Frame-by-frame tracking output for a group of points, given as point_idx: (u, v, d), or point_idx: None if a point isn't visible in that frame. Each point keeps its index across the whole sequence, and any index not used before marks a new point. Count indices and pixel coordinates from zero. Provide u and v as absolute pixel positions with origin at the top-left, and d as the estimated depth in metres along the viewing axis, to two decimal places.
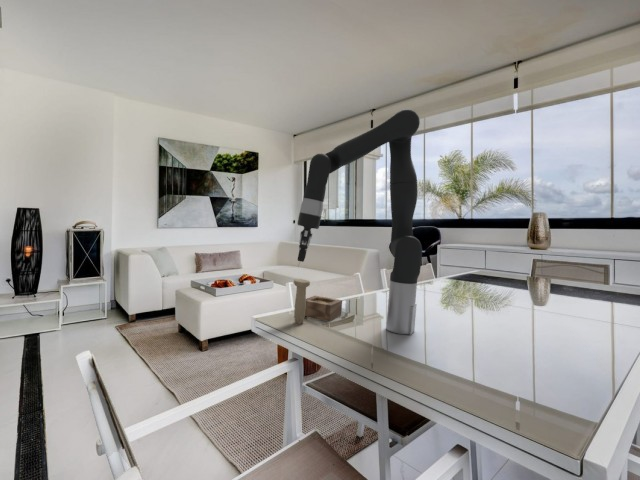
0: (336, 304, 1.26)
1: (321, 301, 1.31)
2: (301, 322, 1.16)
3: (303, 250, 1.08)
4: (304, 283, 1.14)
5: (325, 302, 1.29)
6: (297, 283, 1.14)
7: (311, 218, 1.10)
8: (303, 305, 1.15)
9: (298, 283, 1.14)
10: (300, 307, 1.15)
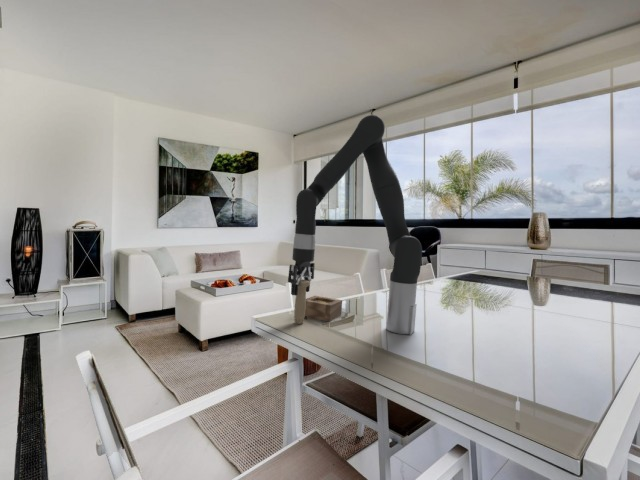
0: (336, 304, 1.26)
1: (321, 301, 1.31)
2: (301, 322, 1.16)
3: (294, 284, 1.11)
4: (304, 283, 1.14)
5: (325, 302, 1.29)
6: None
7: (300, 252, 1.12)
8: (303, 305, 1.15)
9: (298, 283, 1.14)
10: (300, 307, 1.15)
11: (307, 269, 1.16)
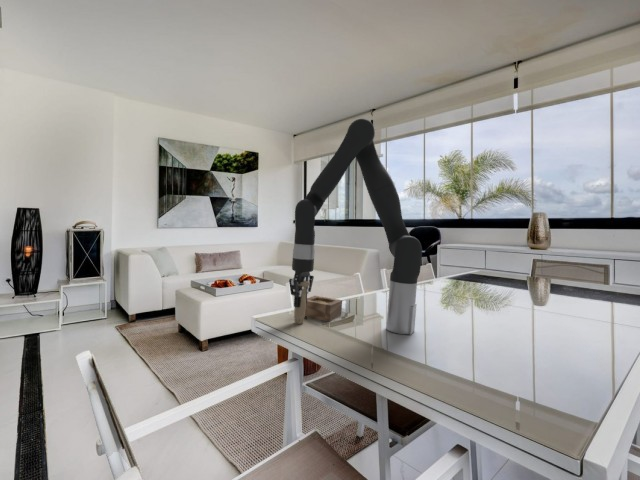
0: (336, 304, 1.26)
1: (321, 301, 1.31)
2: (301, 322, 1.16)
3: (297, 297, 1.14)
4: (304, 283, 1.13)
5: (325, 302, 1.29)
6: None
7: (299, 262, 1.13)
8: (303, 305, 1.15)
9: None
10: (300, 307, 1.15)
11: (307, 279, 1.17)
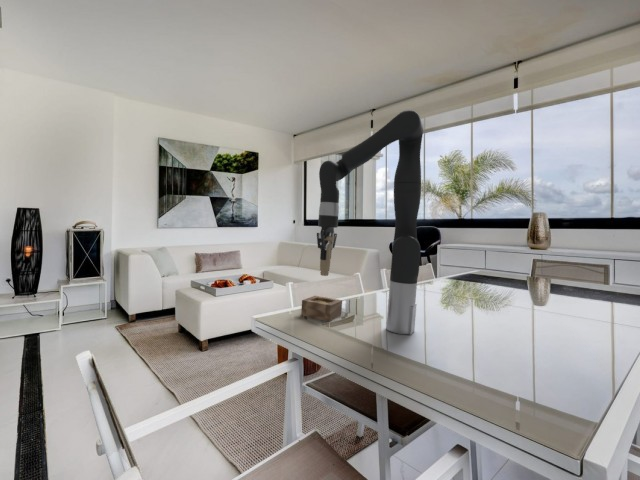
0: (336, 304, 1.26)
1: (321, 301, 1.31)
2: (326, 274, 1.27)
3: (323, 250, 1.25)
4: (329, 237, 1.24)
5: (325, 302, 1.29)
6: None
7: (326, 218, 1.23)
8: (328, 258, 1.26)
9: None
10: (325, 260, 1.26)
11: (331, 235, 1.27)
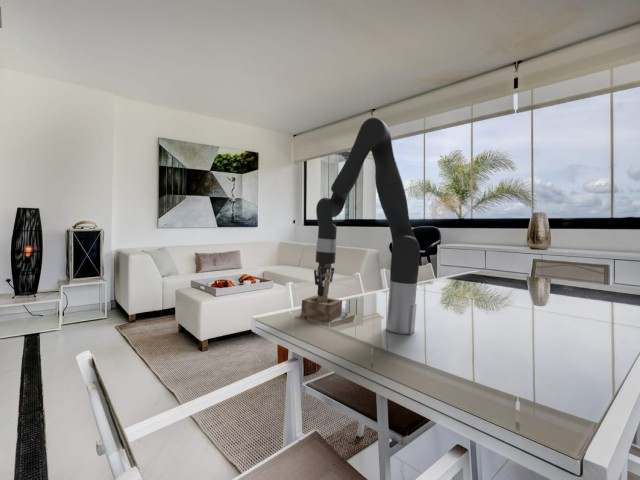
0: (336, 304, 1.26)
1: None
2: None
3: (320, 287, 1.25)
4: (327, 274, 1.25)
5: None
6: None
7: (323, 255, 1.24)
8: (325, 294, 1.27)
9: None
10: (323, 295, 1.26)
11: (329, 270, 1.28)
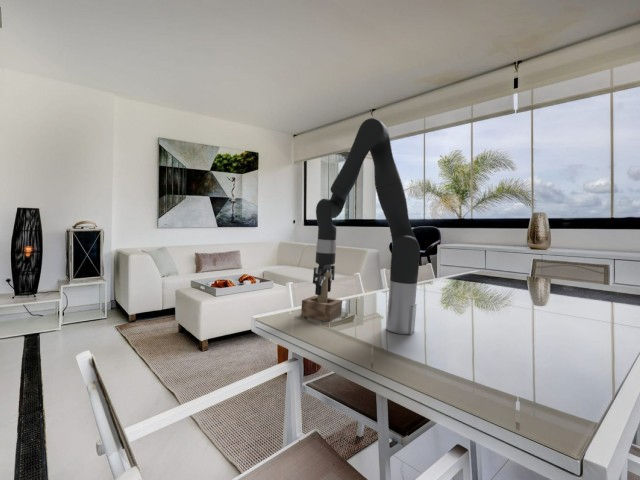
0: (336, 304, 1.26)
1: None
2: None
3: (318, 285, 1.23)
4: (327, 274, 1.25)
5: None
6: None
7: (323, 256, 1.24)
8: (325, 294, 1.27)
9: None
10: (323, 295, 1.26)
11: (329, 271, 1.28)
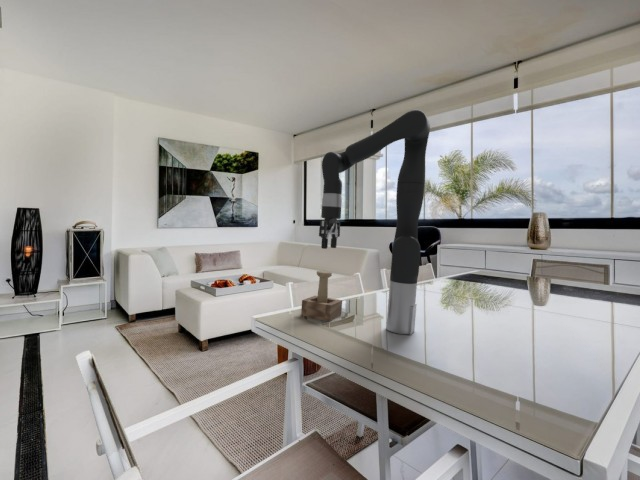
0: (336, 304, 1.26)
1: None
2: None
3: (324, 238, 1.23)
4: (327, 274, 1.25)
5: None
6: (321, 274, 1.26)
7: (329, 209, 1.24)
8: (325, 294, 1.27)
9: (321, 274, 1.26)
10: (323, 295, 1.26)
11: (335, 226, 1.28)
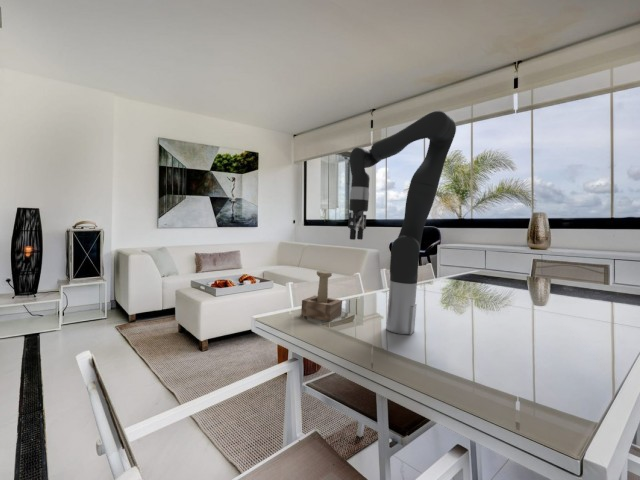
0: (336, 304, 1.26)
1: None
2: None
3: (352, 229, 1.29)
4: (327, 274, 1.25)
5: None
6: (321, 274, 1.26)
7: (357, 202, 1.30)
8: (325, 294, 1.27)
9: (321, 274, 1.26)
10: (323, 295, 1.26)
11: (362, 218, 1.34)
